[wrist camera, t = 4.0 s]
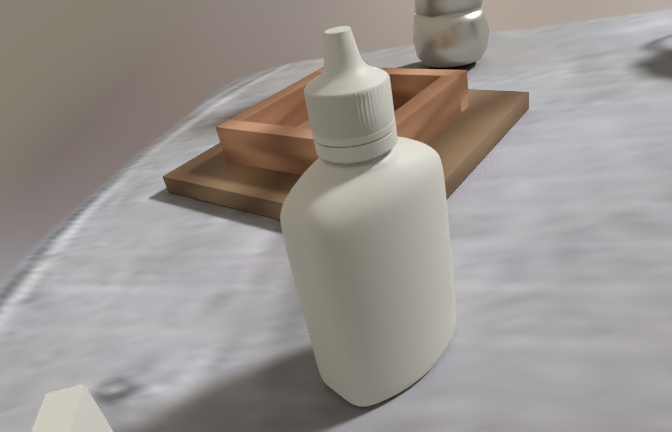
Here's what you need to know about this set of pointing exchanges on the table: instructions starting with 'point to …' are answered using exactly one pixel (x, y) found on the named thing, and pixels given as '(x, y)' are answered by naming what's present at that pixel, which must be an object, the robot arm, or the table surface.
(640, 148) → the table surface
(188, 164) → the collar board
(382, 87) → the eye dropper bottle
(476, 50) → the plastic bottle
